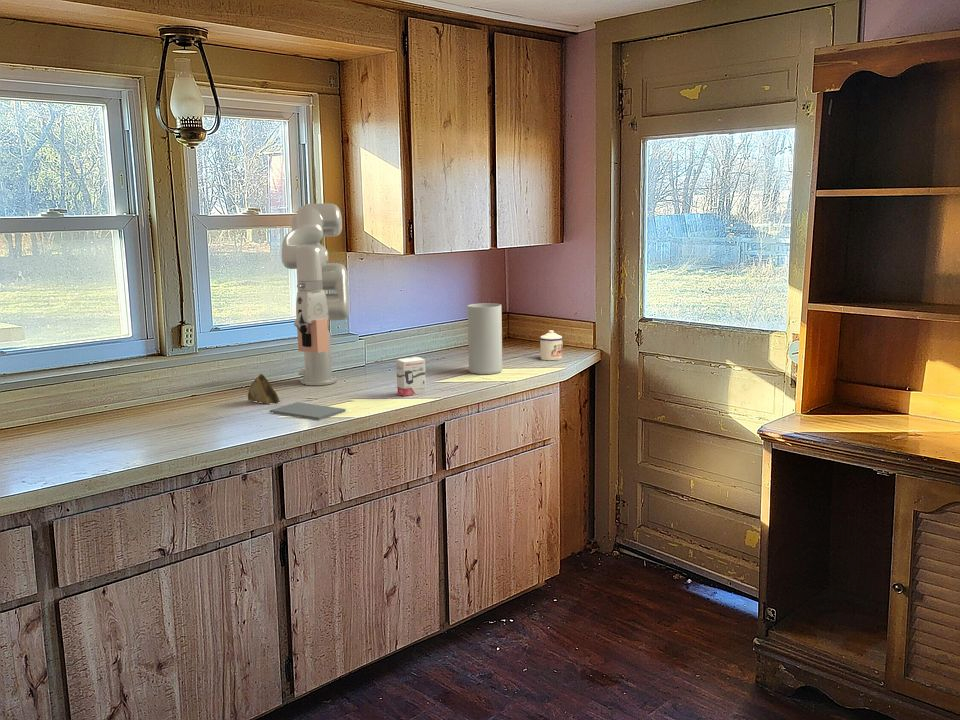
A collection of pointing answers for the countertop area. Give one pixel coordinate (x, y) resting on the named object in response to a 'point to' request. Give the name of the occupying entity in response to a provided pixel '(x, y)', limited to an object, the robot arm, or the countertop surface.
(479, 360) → the cylinder vase
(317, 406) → the mat
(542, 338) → the teacup with lid
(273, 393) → the rock
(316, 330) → the terracotta block
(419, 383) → the ink box
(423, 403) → the countertop surface
